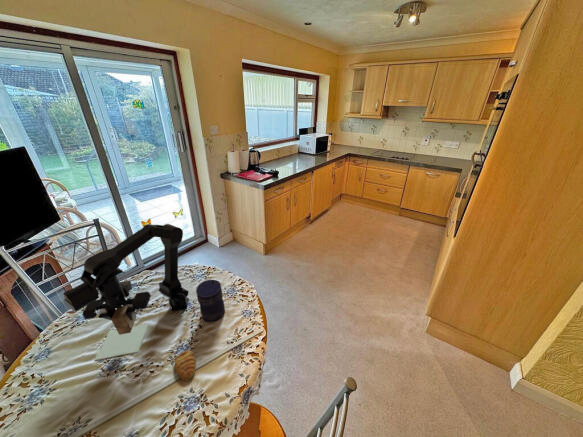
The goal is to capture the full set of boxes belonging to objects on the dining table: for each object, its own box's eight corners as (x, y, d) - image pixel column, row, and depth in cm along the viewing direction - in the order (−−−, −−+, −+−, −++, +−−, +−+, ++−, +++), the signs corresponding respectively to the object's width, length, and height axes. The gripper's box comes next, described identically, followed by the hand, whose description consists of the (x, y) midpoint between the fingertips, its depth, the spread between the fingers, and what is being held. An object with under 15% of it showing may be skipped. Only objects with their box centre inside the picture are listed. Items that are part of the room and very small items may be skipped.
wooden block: (137, 316, 89) (130, 301, 85) (131, 332, 83) (123, 317, 79) (126, 318, 88) (118, 303, 84) (119, 334, 82) (111, 319, 78)
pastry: (200, 374, 80) (198, 367, 78) (179, 386, 76) (176, 380, 74) (193, 352, 86) (191, 345, 85) (173, 362, 83) (171, 356, 81)
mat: (148, 324, 96) (148, 323, 96) (138, 351, 86) (138, 351, 86) (110, 331, 93) (109, 330, 93) (95, 360, 83) (94, 359, 83)
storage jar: (216, 325, 96) (211, 299, 89) (196, 319, 99) (190, 293, 92) (229, 307, 105) (225, 282, 98) (211, 301, 107) (206, 277, 101)
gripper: (148, 268, 86) (159, 298, 93) (89, 277, 82) (106, 308, 89) (139, 290, 76) (152, 322, 84) (72, 301, 72) (92, 334, 80)
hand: (126, 320), depth 84 cm, fingers closed on wooden block, 4 cm apart
